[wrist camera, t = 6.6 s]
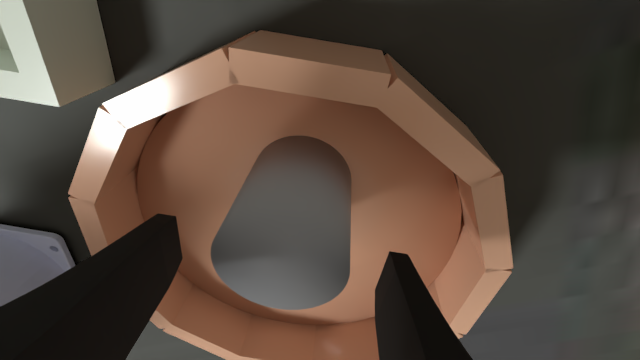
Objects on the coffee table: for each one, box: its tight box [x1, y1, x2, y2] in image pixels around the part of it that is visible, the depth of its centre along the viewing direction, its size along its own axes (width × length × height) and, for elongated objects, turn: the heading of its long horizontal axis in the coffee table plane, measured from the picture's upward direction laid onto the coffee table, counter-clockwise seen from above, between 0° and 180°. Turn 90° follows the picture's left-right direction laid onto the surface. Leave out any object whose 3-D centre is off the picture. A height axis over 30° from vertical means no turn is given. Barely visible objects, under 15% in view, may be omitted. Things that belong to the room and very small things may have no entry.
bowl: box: [68, 30, 513, 360], centre depth 15 cm, size 18×18×4 cm
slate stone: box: [211, 135, 351, 310], centre depth 12 cm, size 4×4×5 cm
